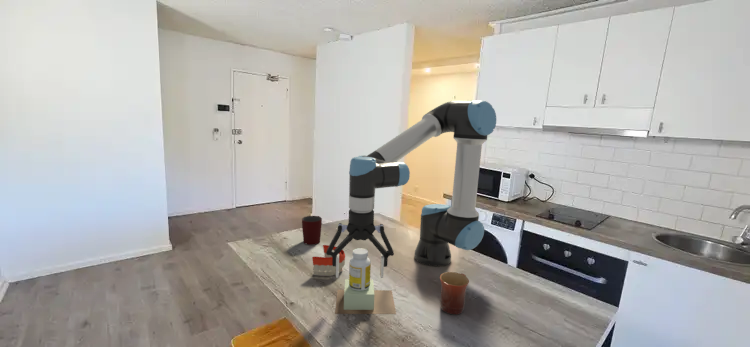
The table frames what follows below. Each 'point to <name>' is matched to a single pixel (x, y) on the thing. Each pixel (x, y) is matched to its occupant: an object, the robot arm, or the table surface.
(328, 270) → the denture model
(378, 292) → the plate
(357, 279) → the pill bottle
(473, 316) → the table surface
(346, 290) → the brick
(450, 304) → the mug
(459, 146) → the robot arm
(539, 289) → the table surface
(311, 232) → the mug
